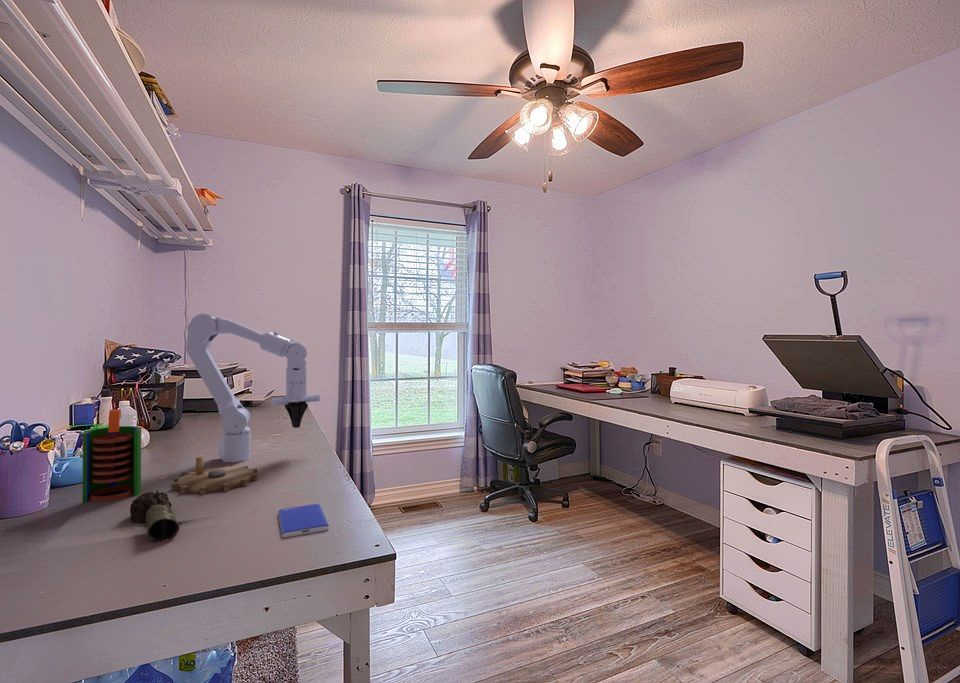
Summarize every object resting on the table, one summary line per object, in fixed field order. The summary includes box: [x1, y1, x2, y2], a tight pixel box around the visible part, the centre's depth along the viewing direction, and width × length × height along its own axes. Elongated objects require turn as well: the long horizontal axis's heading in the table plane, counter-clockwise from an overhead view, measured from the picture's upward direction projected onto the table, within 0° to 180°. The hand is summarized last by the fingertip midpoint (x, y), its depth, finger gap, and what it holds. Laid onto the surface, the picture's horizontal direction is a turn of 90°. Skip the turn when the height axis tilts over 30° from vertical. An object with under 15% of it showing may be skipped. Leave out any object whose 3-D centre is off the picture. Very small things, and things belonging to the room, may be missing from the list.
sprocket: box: [171, 456, 259, 495], centre depth 112 cm, size 18×18×6 cm
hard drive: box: [277, 503, 329, 538], centre depth 91 cm, size 2×8×12 cm
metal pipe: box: [129, 490, 180, 543], centre depth 88 cm, size 18×7×6 cm, turn 40°
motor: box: [81, 408, 142, 506], centre depth 102 cm, size 10×9×20 cm
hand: (296, 427), depth 139 cm, fingers closed
